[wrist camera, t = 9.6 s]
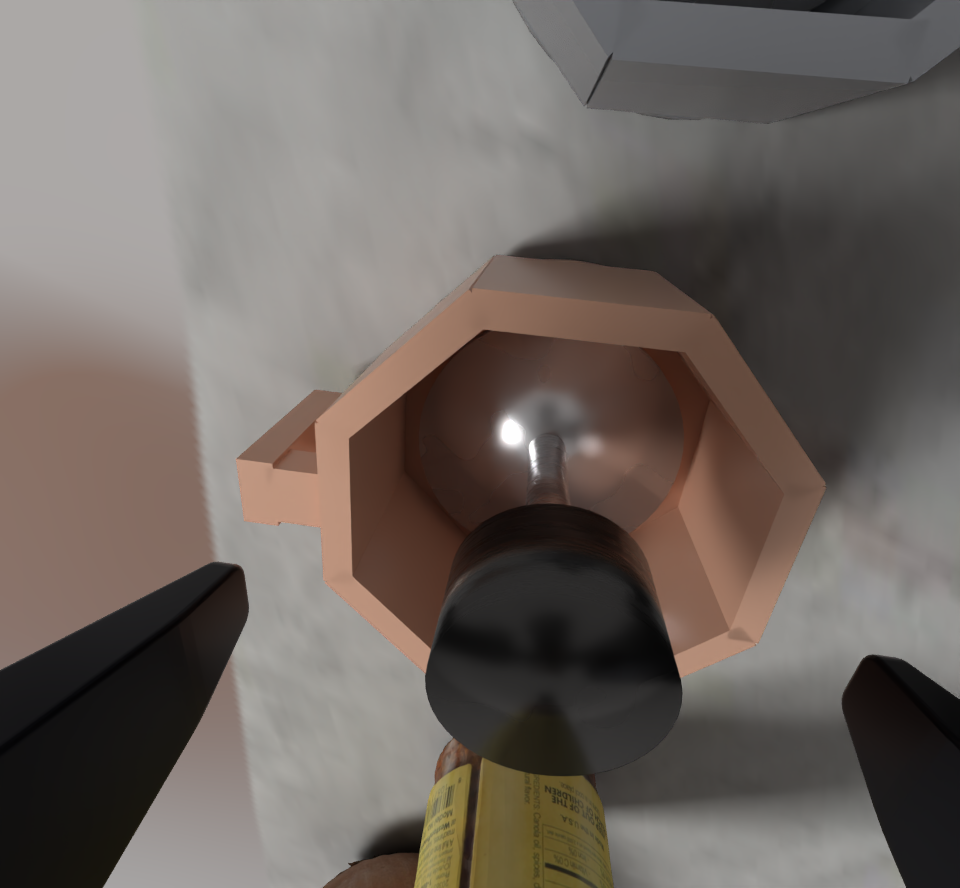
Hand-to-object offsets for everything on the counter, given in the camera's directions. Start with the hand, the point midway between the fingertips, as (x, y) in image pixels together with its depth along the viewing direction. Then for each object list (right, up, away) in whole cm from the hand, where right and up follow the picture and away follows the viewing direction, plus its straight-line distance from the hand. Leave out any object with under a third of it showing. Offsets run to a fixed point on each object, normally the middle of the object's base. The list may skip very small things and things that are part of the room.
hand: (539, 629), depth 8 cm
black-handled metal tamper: (+1, +3, +6) cm, 6 cm away
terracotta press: (+1, +3, +6) cm, 7 cm away
